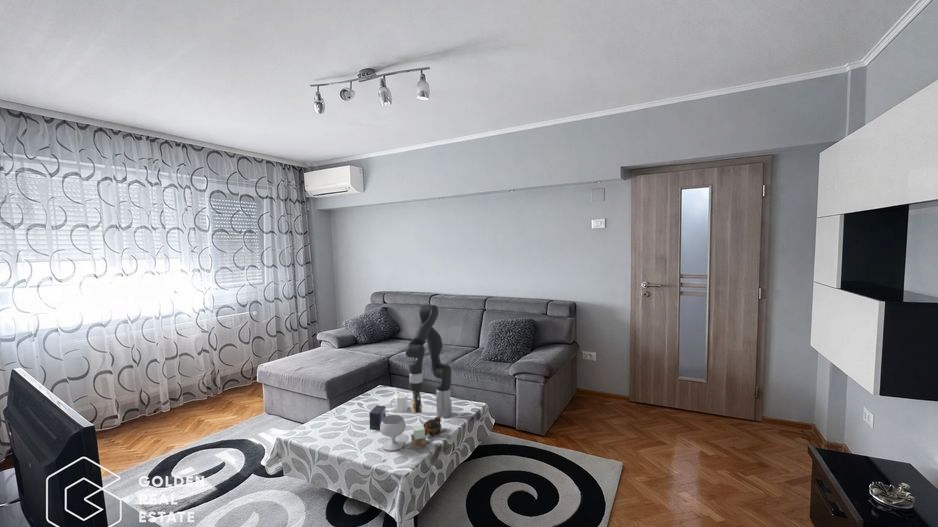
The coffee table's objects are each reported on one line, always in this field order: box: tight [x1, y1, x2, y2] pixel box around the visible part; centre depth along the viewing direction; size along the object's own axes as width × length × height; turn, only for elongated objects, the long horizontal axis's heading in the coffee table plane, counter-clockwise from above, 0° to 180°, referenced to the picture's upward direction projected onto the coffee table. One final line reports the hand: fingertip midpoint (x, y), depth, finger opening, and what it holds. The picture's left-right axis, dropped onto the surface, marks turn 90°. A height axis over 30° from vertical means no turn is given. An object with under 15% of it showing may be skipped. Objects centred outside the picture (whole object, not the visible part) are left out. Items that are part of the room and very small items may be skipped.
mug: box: [389, 392, 409, 413], centre depth 260 cm, size 12×9×10 cm
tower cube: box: [412, 424, 426, 440], centre depth 216 cm, size 6×6×5 cm
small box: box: [369, 405, 387, 430], centre depth 239 cm, size 11×6×10 cm, turn 168°
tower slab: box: [410, 434, 427, 450], centre depth 216 cm, size 7×7×5 cm
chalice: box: [379, 414, 406, 452], centre depth 215 cm, size 14×14×15 cm
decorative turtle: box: [422, 415, 442, 437], centre depth 229 cm, size 10×15×8 cm, turn 151°
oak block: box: [411, 398, 423, 415], centre depth 215 cm, size 5×5×6 cm
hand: (416, 410), depth 215 cm, fingers closed on oak block, 4 cm apart
